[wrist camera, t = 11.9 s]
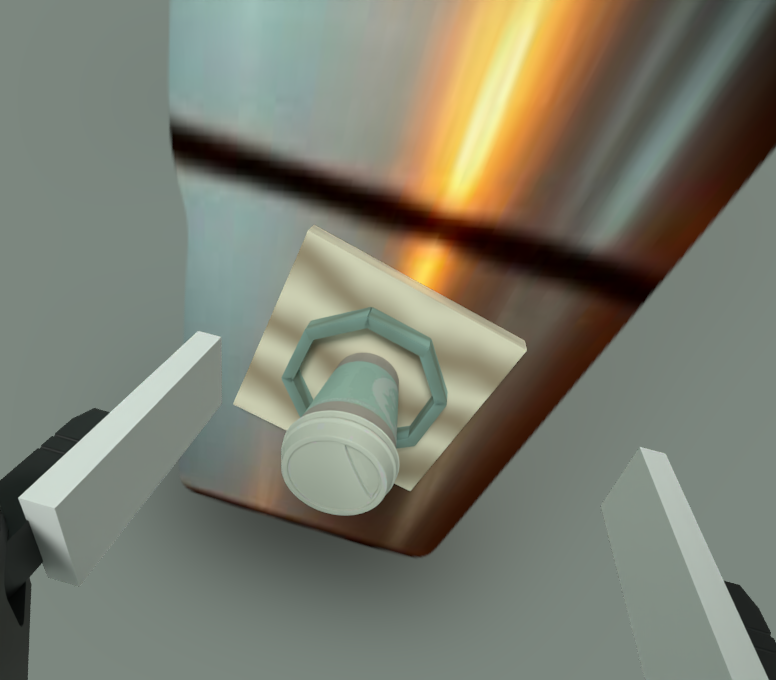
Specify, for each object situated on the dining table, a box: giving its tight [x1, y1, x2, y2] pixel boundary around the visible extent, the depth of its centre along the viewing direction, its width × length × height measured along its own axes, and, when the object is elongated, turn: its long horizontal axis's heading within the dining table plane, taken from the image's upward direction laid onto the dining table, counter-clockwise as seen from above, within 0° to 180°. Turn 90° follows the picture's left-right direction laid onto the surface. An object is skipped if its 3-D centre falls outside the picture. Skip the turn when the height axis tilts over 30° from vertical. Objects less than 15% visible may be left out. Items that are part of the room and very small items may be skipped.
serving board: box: [234, 225, 527, 491], centre depth 42 cm, size 20×20×3 cm
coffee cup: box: [281, 353, 399, 515], centre depth 37 cm, size 9×8×12 cm
